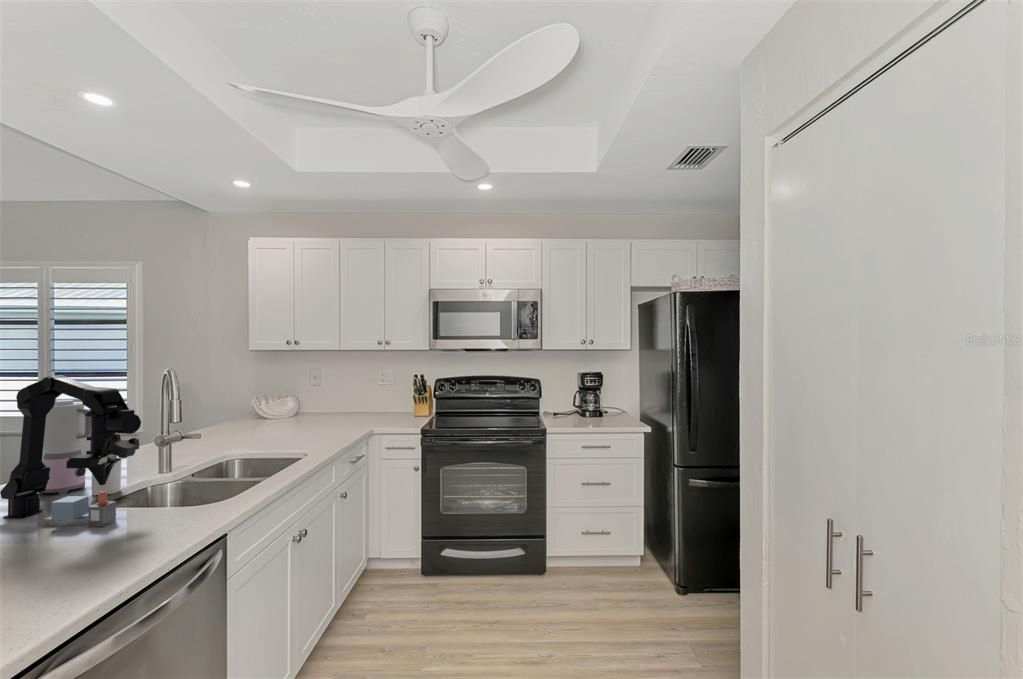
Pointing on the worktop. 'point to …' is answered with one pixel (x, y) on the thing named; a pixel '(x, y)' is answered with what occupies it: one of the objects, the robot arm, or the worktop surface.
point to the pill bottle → (109, 481)
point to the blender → (65, 445)
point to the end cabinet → (101, 514)
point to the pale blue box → (70, 507)
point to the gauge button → (102, 498)
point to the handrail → (67, 522)
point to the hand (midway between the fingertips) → (102, 484)
